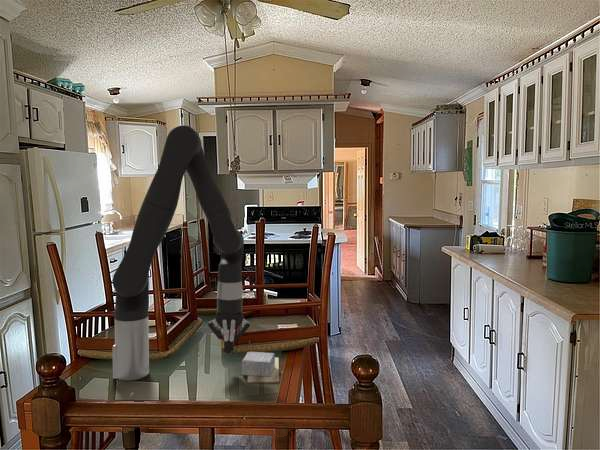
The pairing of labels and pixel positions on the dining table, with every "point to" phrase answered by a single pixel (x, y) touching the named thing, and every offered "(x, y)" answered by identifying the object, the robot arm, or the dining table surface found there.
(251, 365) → the medicine box
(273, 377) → the board
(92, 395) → the dining table surface
